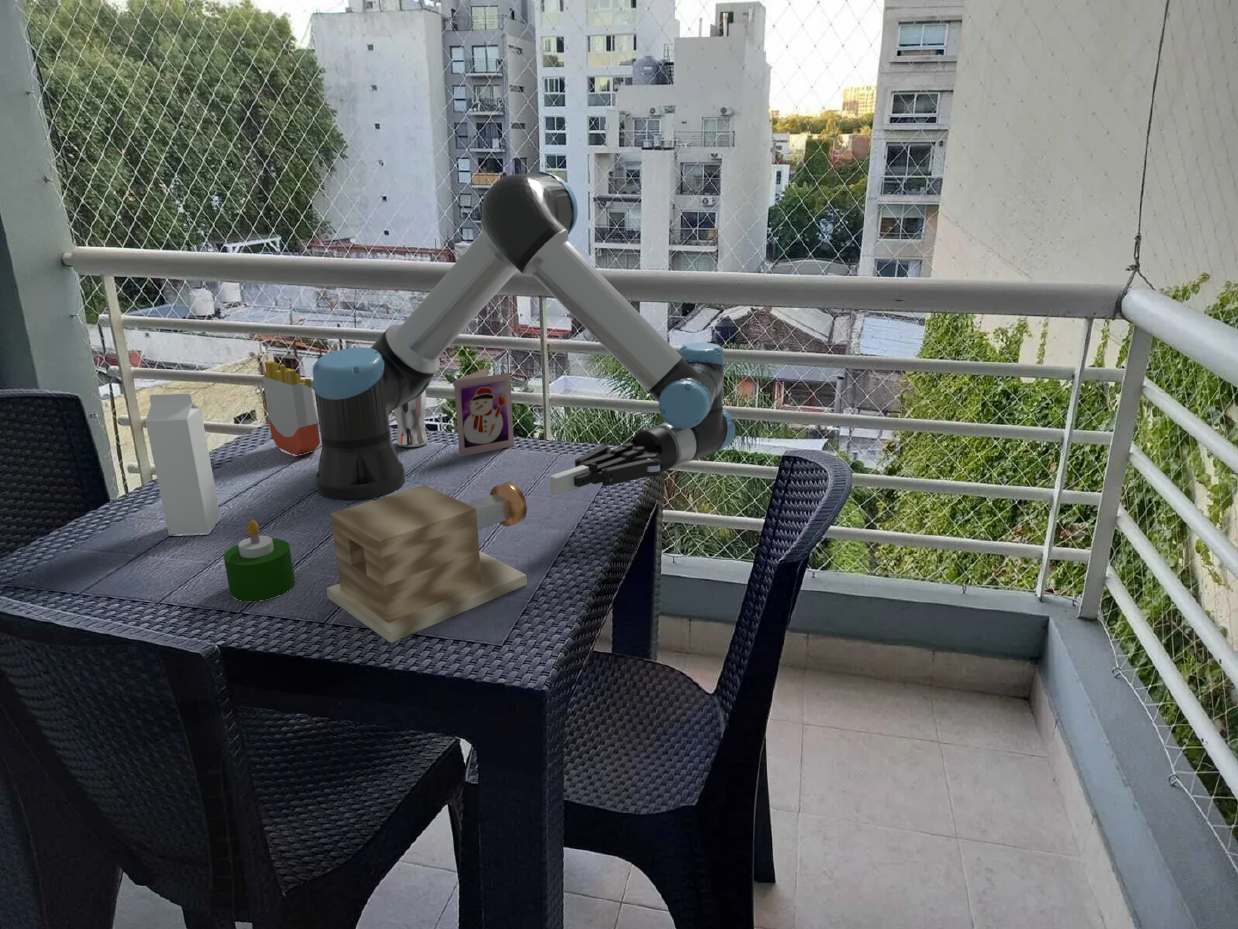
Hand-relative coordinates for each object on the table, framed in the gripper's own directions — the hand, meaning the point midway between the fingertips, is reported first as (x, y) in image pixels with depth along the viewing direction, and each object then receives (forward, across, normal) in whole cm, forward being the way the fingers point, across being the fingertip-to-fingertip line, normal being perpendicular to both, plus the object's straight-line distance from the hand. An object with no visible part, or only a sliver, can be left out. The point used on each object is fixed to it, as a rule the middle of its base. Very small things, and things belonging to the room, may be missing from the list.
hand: (553, 485), depth 130 cm
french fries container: (+9, +69, -9) cm, 70 cm away
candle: (+38, +18, -9) cm, 43 cm away
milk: (+37, +44, -9) cm, 58 cm away
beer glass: (-10, +56, -9) cm, 58 cm away
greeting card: (-18, +44, -9) cm, 49 cm away
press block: (+23, 0, -9) cm, 24 cm away
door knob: (+15, 0, -3) cm, 16 cm away
